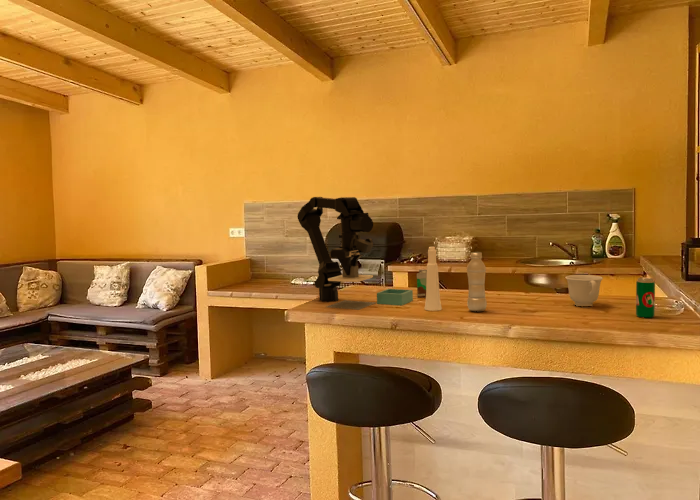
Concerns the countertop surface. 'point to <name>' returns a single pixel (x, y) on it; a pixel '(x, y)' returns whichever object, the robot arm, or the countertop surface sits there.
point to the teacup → (583, 289)
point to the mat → (351, 304)
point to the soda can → (645, 297)
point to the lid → (351, 276)
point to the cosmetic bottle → (432, 283)
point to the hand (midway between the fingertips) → (350, 274)
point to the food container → (421, 283)
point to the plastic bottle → (476, 283)
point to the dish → (394, 297)
